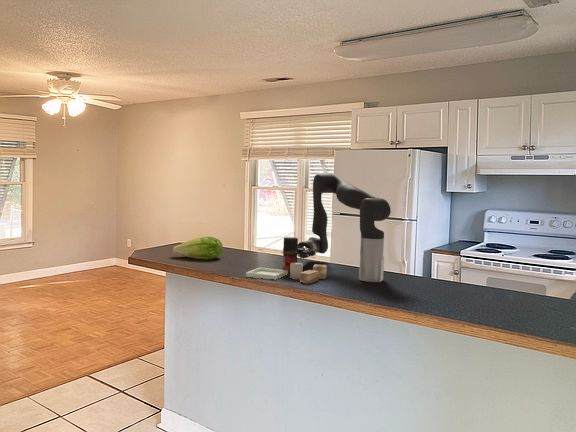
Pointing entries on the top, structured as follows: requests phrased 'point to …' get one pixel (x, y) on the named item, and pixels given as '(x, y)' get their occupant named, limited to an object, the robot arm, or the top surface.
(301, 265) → the grey cylinder
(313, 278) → the beech brick
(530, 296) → the top surface
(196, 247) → the lettuce
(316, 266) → the maple cube
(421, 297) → the top surface
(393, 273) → the top surface
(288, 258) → the deodorant
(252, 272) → the tray
